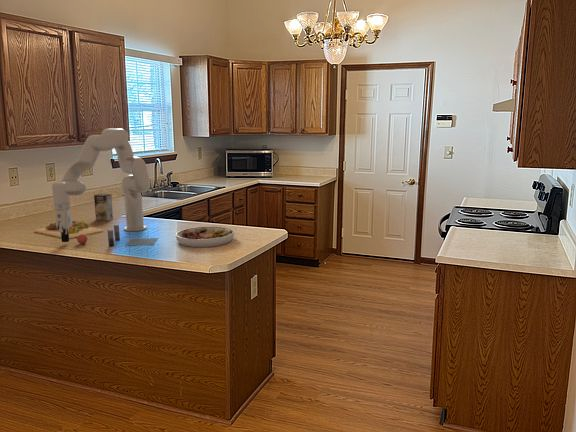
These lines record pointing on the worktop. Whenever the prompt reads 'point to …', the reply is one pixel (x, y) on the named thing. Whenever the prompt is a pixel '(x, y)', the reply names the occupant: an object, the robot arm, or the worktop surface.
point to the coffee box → (103, 206)
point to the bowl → (205, 236)
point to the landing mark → (141, 242)
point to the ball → (82, 239)
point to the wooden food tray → (70, 229)
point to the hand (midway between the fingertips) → (65, 241)
